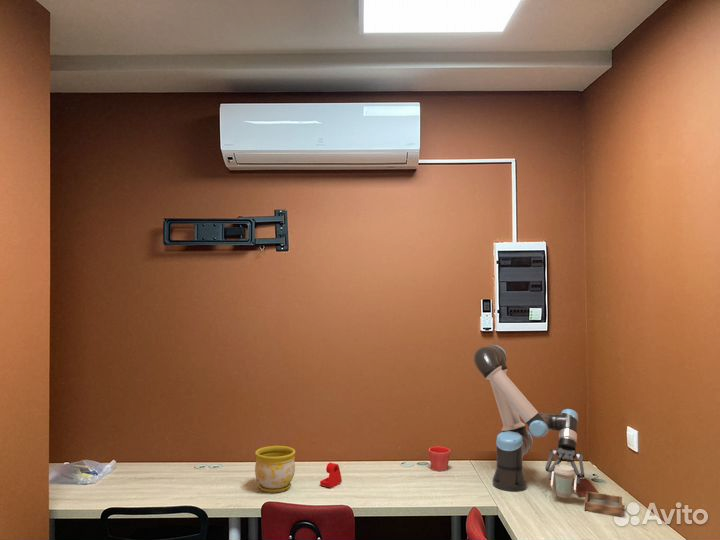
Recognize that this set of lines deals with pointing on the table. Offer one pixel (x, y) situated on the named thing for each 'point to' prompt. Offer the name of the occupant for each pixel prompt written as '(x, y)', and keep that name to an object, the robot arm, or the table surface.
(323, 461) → the table surface
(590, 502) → the wood rimmed frame
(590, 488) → the wooden tablet
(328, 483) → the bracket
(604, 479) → the table surface
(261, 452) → the flowerpot
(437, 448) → the flower pot
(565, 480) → the coffee cup
